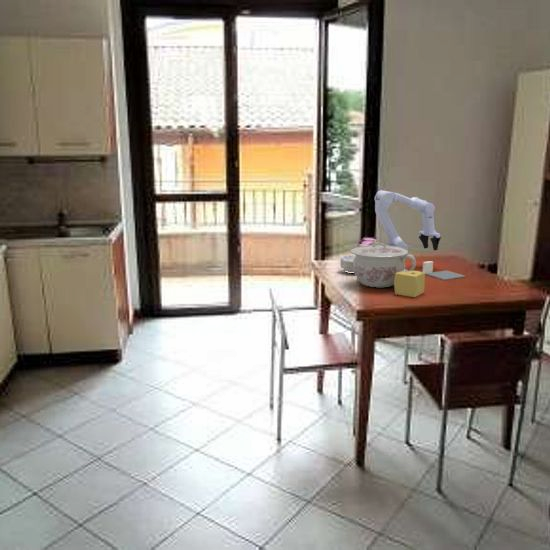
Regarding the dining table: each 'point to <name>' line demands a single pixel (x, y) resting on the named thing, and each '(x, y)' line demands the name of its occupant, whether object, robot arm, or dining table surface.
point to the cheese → (409, 283)
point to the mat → (445, 275)
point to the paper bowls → (347, 263)
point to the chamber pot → (379, 264)
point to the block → (428, 267)
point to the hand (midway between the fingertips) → (430, 249)
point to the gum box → (367, 241)
